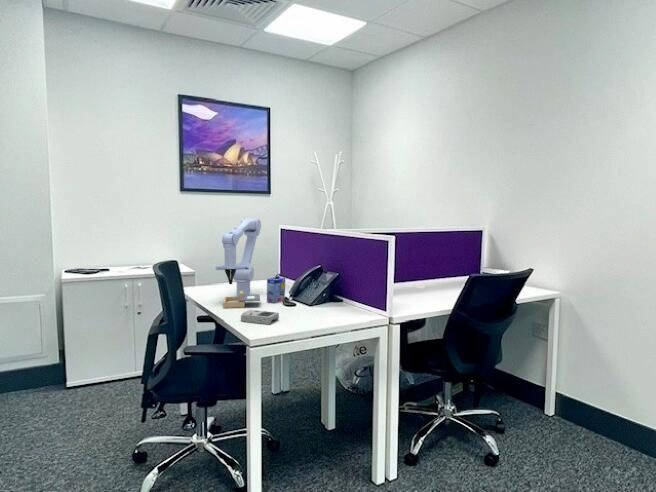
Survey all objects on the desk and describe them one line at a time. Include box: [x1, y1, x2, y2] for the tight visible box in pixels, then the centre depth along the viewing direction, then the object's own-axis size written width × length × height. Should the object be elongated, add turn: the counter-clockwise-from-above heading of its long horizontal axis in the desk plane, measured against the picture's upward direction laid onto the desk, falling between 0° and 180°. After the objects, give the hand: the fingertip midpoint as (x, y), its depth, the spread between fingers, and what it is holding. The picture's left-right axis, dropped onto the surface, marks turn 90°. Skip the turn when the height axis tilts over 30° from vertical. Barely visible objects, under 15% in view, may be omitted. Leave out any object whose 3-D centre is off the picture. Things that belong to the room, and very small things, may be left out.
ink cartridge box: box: [266, 273, 286, 304], centre depth 231 cm, size 10×6×14 cm, turn 152°
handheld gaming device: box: [240, 309, 280, 325], centre depth 193 cm, size 9×15×4 cm, turn 69°
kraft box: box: [222, 296, 246, 309], centre depth 222 cm, size 12×10×3 cm
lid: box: [238, 291, 261, 302], centre depth 222 cm, size 12×10×3 cm
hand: (230, 284), depth 225 cm, fingers closed
